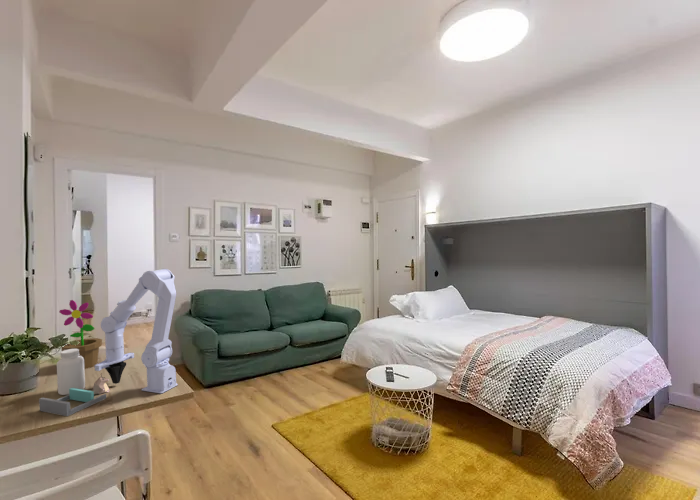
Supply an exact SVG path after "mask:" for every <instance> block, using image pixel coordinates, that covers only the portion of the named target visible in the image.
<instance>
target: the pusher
mask: <svg viewBox="0 0 700 500" xmlns="http://www.w3.org/2000/svg"><path fill="white" fill-rule="evenodd" d="M69 396H70V399H69V400H71V401H72V400H73V401H77V402H82V403H86V402H88V401H90V400H92V399H95V394H94V391H92V390H89V389H88V390H87V389H83V390H82V389H76V388H71V389H69Z"/></svg>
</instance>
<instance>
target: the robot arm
mask: <svg viewBox="0 0 700 500" xmlns="http://www.w3.org/2000/svg"><path fill="white" fill-rule="evenodd" d="M175 278H176V276H175V275H174V274H173V272H172V271H171V270H170V269H168V268H161V269H156V270H154V269H153V270H146V271H145V272H143V274H142V275H141V277H139V278H138V282H137V284H136V286H134V288H133V289H132V291H131V293H130V294H129V295H128V296H127V298H126V299H122V300H121V301H118V302H117V303H116V305H117V306H115V308H114V309H113V310H112V311H111V312H110V313H109V315H108V316H105V317H103V318H102V320H101V322H100V328H101V330H102V332H104V341H105V345H104V346H105V359H104V360H102V361H101V362H99V363H97V365H95V366H94V371H97V372H100V371H102V370H103V369H105V370H106V372H107V373H108V375H109V377H110V379H111V382H112V384H115V385H116V384H119V383H120V382H121V378H122V375H123V372H124V370H125V368H126V367H127V362H126V361H127V360H130V359H134V358H135V353H134V352H128V353H125V348H124V347H125V346H124V345H125V344H124V333H125V328H126V326H127V324H128V320H129V318H130V317H131V316H132V314H133V313H134V312H135V310H136V309H137V307H136V304H137V303H138V302H139V301H140V300H141V299H142V298H143V297H144V296H145V294H147V292H148V291H150V292H151V293H153V294H155V296H156V297H158V300H157V307H156V312H155V316H154V317H155V318H154V322H153V326H152V327H153V328H152V334H151V337H150V340H149V341H148V342H147V344H146V345H145V348H144V351H143V353H142V354H141V357H140V358H141V362H142V364H143V366H145V368H146V385H147V386H145V387H144V388H141V391H142V392H148V393H149V392H150V393H156V394H164V393H166V392H167V391H170V390H171V389H174V388H175V387H176V386H178V385H179V384H178V383H177V372H176V371H177V370H176V367H175V366H174V365H171V364H170V363H169V362H170V358H171V357H172V354H173V348H172V347H173V346H172V344H173V343H172V340H171V339H169V336H170V331H171V330H170V329H171V325H172V318H173V314H174V308H175V304H176V298H177V291H176V286H175Z"/></svg>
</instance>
